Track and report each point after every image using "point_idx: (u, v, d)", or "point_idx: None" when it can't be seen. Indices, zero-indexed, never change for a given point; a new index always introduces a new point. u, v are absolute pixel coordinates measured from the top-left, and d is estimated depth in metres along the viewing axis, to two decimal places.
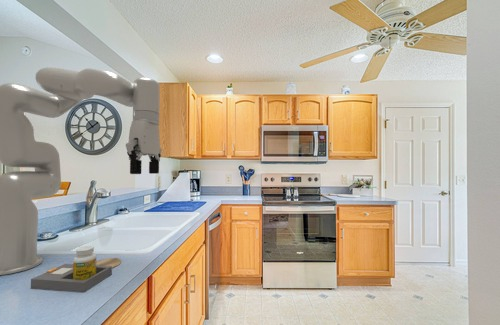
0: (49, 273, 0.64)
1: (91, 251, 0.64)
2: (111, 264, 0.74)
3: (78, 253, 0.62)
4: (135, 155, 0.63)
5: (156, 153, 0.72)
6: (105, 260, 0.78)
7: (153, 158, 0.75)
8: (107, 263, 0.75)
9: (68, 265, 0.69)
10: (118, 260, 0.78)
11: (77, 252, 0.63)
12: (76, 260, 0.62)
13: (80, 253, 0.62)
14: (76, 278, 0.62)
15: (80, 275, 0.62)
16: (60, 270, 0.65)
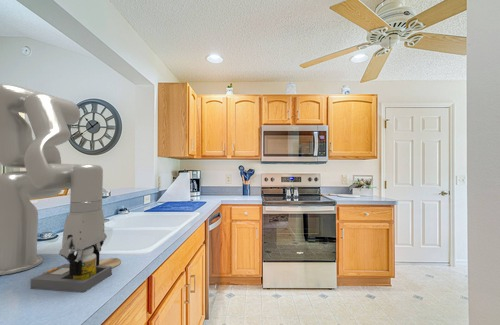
0: (49, 273, 0.64)
1: (91, 251, 0.64)
2: (111, 264, 0.74)
3: None
4: (73, 259, 0.60)
5: (99, 240, 0.67)
6: (105, 260, 0.78)
7: None
8: (107, 263, 0.75)
9: (68, 265, 0.69)
10: (118, 260, 0.78)
11: None
12: None
13: None
14: (76, 278, 0.62)
15: (80, 275, 0.62)
16: (60, 270, 0.65)
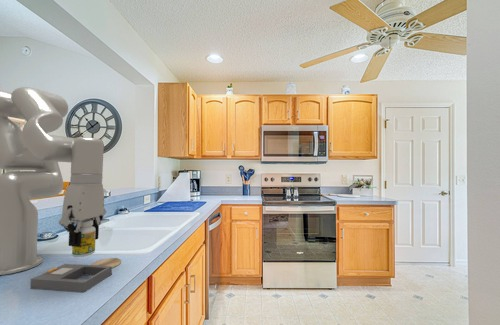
0: (49, 273, 0.64)
1: (91, 224, 0.65)
2: (111, 264, 0.74)
3: None
4: (72, 229, 0.60)
5: (98, 214, 0.67)
6: (105, 260, 0.78)
7: (93, 222, 0.68)
8: (107, 263, 0.75)
9: (68, 265, 0.69)
10: (118, 260, 0.78)
11: None
12: None
13: None
14: (75, 249, 0.62)
15: (79, 246, 0.62)
16: (60, 270, 0.65)
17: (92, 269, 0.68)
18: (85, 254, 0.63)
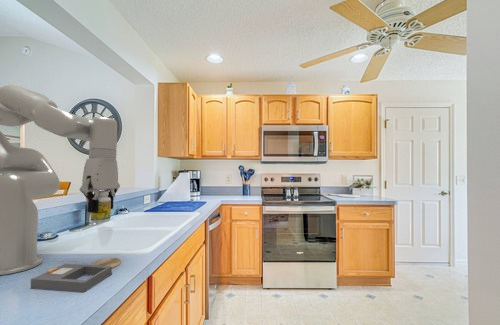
0: (49, 273, 0.64)
1: (106, 194, 0.73)
2: (111, 264, 0.74)
3: None
4: (91, 197, 0.68)
5: (113, 187, 0.75)
6: (105, 260, 0.78)
7: None
8: (107, 263, 0.75)
9: (68, 265, 0.69)
10: (118, 260, 0.78)
11: None
12: None
13: None
14: (93, 215, 0.70)
15: (97, 213, 0.70)
16: (60, 270, 0.65)
17: (92, 269, 0.68)
18: (102, 220, 0.71)
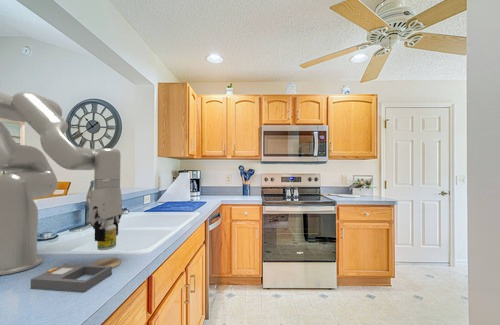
0: (49, 273, 0.64)
1: (112, 222, 0.76)
2: (111, 264, 0.74)
3: None
4: (98, 226, 0.71)
5: (118, 214, 0.78)
6: (105, 260, 0.78)
7: None
8: (107, 263, 0.75)
9: (68, 265, 0.69)
10: (118, 260, 0.78)
11: None
12: None
13: None
14: (100, 243, 0.73)
15: (103, 241, 0.73)
16: (60, 270, 0.65)
17: (92, 269, 0.68)
18: (109, 247, 0.74)
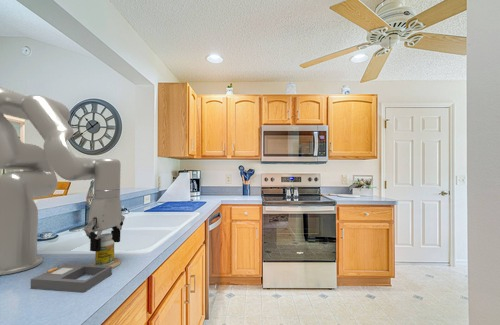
0: (49, 273, 0.64)
1: (110, 237, 0.75)
2: (111, 264, 0.74)
3: None
4: (94, 235, 0.70)
5: (117, 224, 0.78)
6: None
7: (115, 227, 0.81)
8: None
9: (68, 265, 0.69)
10: (118, 260, 0.78)
11: None
12: None
13: (101, 238, 0.73)
14: (98, 260, 0.73)
15: (101, 257, 0.73)
16: (60, 270, 0.65)
17: (92, 269, 0.68)
18: (106, 264, 0.73)
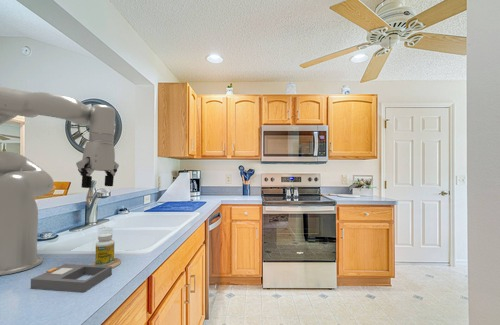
0: (49, 273, 0.64)
1: (110, 237, 0.75)
2: (111, 264, 0.74)
3: (100, 238, 0.74)
4: (85, 172, 0.74)
5: (110, 169, 0.83)
6: None
7: (109, 172, 0.85)
8: None
9: (68, 265, 0.69)
10: (118, 260, 0.78)
11: (99, 238, 0.74)
12: (98, 244, 0.73)
13: (101, 238, 0.73)
14: (98, 259, 0.73)
15: (101, 257, 0.73)
16: (60, 270, 0.65)
17: (92, 269, 0.68)
18: (106, 264, 0.73)
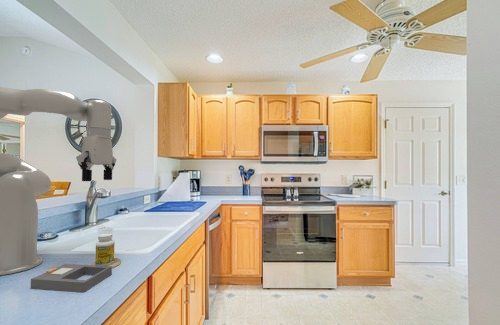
0: (49, 273, 0.64)
1: (110, 237, 0.75)
2: (111, 264, 0.74)
3: (100, 238, 0.74)
4: (85, 165, 0.76)
5: (108, 163, 0.85)
6: None
7: (107, 167, 0.88)
8: None
9: (68, 265, 0.69)
10: (118, 260, 0.78)
11: (99, 237, 0.74)
12: (98, 244, 0.73)
13: (101, 238, 0.73)
14: (98, 259, 0.73)
15: (101, 257, 0.73)
16: (60, 270, 0.65)
17: (92, 269, 0.68)
18: (106, 264, 0.73)
